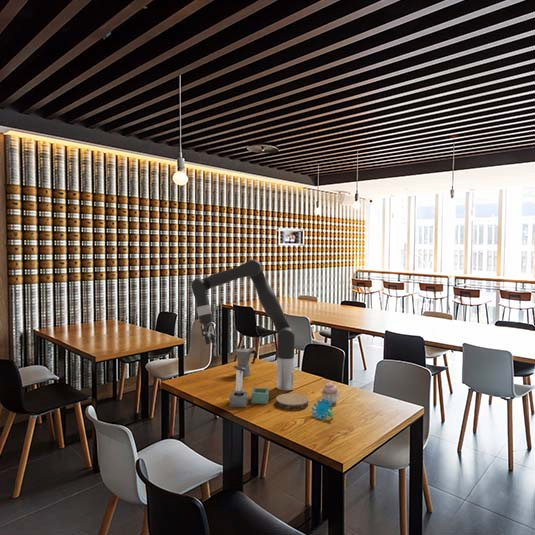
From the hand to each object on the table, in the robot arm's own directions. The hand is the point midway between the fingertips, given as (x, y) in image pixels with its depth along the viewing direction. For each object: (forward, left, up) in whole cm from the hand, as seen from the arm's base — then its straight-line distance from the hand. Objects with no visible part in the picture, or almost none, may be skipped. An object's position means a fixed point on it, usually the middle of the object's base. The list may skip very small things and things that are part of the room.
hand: (210, 343), depth 224 cm
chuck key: (-19, +22, -24) cm, 38 cm away
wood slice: (-45, +18, -25) cm, 54 cm away
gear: (-59, +33, -25) cm, 72 cm away
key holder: (-29, +15, -24) cm, 41 cm away
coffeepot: (-16, -28, -25) cm, 40 cm away
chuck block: (-19, +22, -24) cm, 38 cm away
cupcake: (-64, +12, -25) cm, 69 cm away
